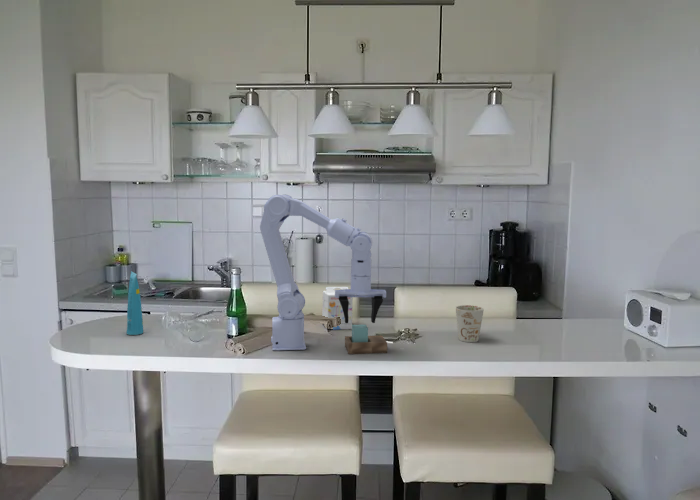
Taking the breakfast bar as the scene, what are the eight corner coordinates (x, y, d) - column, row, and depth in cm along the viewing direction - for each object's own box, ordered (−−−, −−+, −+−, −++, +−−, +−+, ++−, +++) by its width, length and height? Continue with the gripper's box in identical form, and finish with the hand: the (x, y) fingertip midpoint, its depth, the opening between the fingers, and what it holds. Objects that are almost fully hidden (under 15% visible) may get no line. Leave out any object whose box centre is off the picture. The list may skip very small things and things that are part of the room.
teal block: (353, 349, 149) (354, 328, 148) (351, 345, 152) (352, 324, 152) (367, 348, 149) (368, 328, 148) (365, 344, 153) (365, 324, 152)
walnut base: (348, 354, 146) (348, 343, 146) (344, 346, 154) (344, 336, 154) (387, 352, 148) (387, 342, 148) (381, 345, 155) (381, 335, 155)
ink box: (327, 330, 172) (327, 290, 170) (321, 324, 180) (322, 285, 178) (352, 329, 174) (353, 289, 172) (346, 322, 182) (346, 284, 181)
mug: (451, 341, 161) (452, 309, 160) (462, 331, 172) (463, 301, 171) (478, 344, 157) (479, 312, 156) (488, 335, 168) (489, 304, 167)
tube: (146, 334, 163) (145, 273, 161) (130, 337, 160) (128, 274, 158) (139, 329, 169) (137, 270, 167) (123, 332, 166) (121, 271, 164)
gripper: (337, 277, 143) (336, 326, 145) (389, 277, 146) (387, 325, 147) (334, 273, 150) (333, 319, 152) (383, 273, 152) (382, 319, 154)
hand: (359, 322), depth 150 cm, fingers open, 7 cm apart
